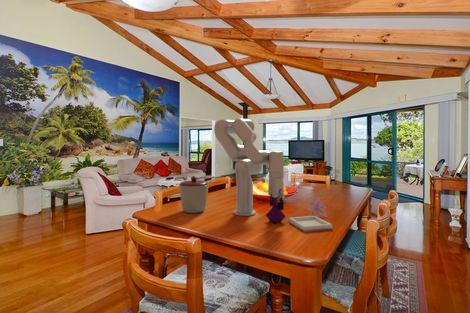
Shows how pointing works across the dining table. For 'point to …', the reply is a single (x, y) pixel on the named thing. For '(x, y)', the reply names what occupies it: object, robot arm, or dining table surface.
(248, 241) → the dining table surface
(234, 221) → the dining table surface
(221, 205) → the dining table surface
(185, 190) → the canister
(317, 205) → the lily
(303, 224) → the tray
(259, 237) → the dining table surface
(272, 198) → the perfume bottle
